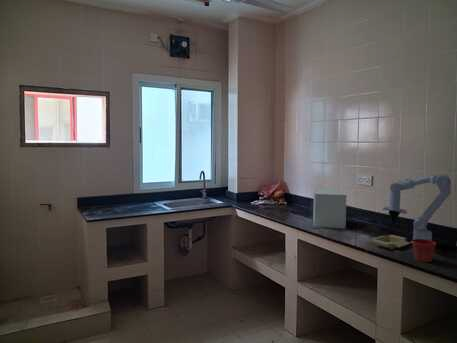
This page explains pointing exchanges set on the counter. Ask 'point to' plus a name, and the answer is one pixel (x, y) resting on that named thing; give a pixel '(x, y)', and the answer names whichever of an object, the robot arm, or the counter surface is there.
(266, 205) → the counter surface
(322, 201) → the cube
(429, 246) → the flower pot
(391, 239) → the carton
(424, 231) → the robot arm
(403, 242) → the flap near
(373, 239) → the flap far
